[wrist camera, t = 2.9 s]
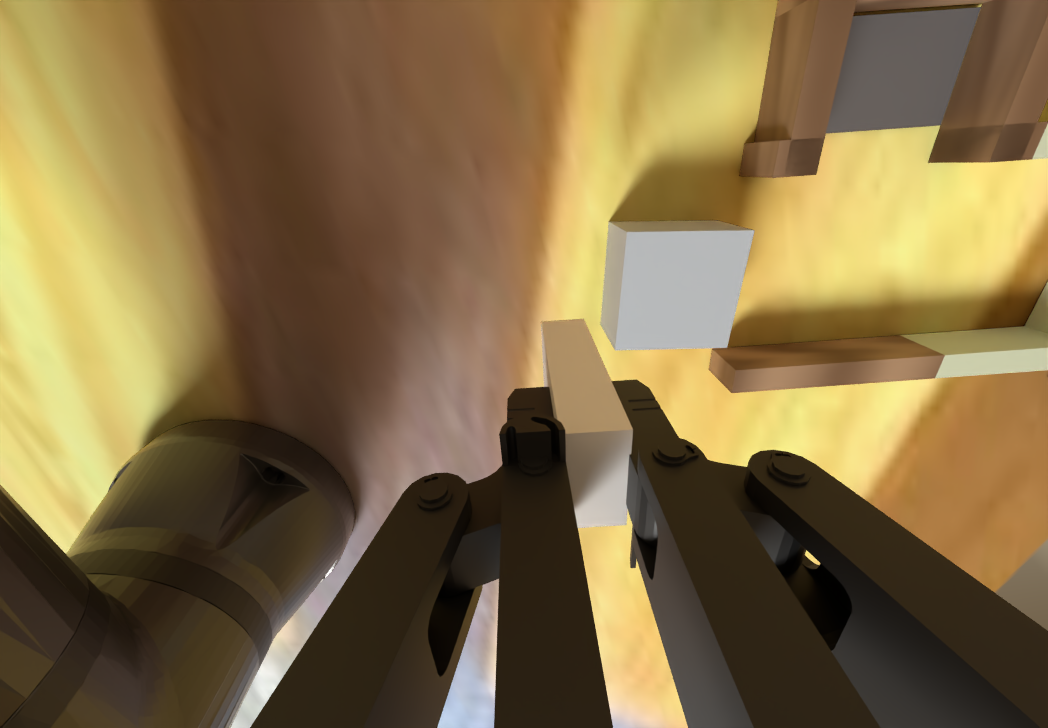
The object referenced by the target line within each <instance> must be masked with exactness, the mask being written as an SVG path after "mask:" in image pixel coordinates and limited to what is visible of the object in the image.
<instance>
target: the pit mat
mask: <svg viewBox="0 0 1048 728" xmlns="http://www.w3.org/2000/svg"><path fill="white" fill-rule="evenodd" d="M980 9H981V7H978V8H964V9H949V10H935V11H921V12H907V13H892V14H878V15H864V16H853V19H852V23H851V28H850V32H849V36H848V40H847V45H846V49H845V53H844V58H843V62H842V66H841V70H840V75H839V79H838V83H837V87H836V92H835V96H834V100H833V105H832V109H831V113H830V117H829V122H828V126H827V130H826V133H839V132H853V131H867V130H881V129H895V128H909V127H923V126H937V125H941V123H942V120H943V117H944V114H945V112H946V109H947V106H948V103H949V100H950V97H951V94H952V91H953V88H954V85H955V82H956V79H957V76H958V74H959V71H960V68H961V65H962V62H963V59H964V56H965V53H966V50H967V47H968V44H969V41H970V38H971V36H972V33H973V30H974V27H975V24H976V21H977V18H978V15H979V12H980Z"/></svg>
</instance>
